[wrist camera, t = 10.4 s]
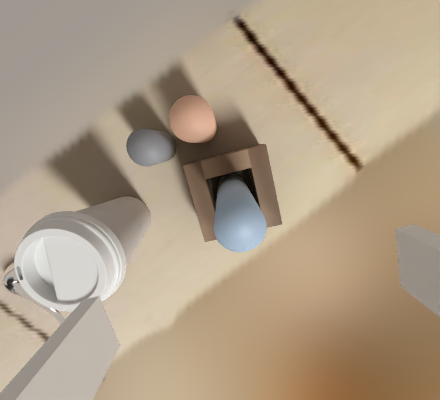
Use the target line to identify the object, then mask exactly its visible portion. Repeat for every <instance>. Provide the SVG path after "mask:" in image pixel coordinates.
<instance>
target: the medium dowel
mask: <svg viewBox="0 0 440 400" xmlns="http://www.w3.org/2000/svg"><path fill="white" fill-rule="evenodd" d="M169 124H170V127H171V129H172V131H173V133H174V134H175V135H176V136H177V137H178V138H179V139H181V140H183V141H186V142H192V143H206V142H209V141H211V140H212V139H213V138H214V136H215V134H216V132H217V124H216V121H215V117H214V114H213V111H212V108H211V107H210V105H209V104H208V102H207V101H205V100H204V99H203V98H201V97H199V96H196V95H186V96H183V97H181V98H179V99H178V100H176V101H175V102H174V104H173V105H172V107H171V109H170V112H169Z"/></svg>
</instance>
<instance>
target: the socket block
mask: <svg viewBox="0 0 440 400" xmlns="http://www.w3.org/2000/svg"><path fill="white" fill-rule="evenodd" d="M183 168H184V172H185V175H186V178H187V182H188V185H189V189H190V192H191V196H192V199H193V203H194V206H195V209H196V213H197V216H198V220H199V223H200V227H201V230H202V234H203V237H204V240H205V242H208V241H212V240H216V239H217V238H216V236H215V233H214V219H215V211H216V201H215V197H214V193H213V190H212V186H211V182H210V178H213V177H217V176H221V175H225V174H228V173H232V172H236V171H240V170H244V169H248V170H249V174H250V179H251V183H252V187H253V192H254V196H255V201H256V203H257V204H258V206H259V208H260V210H261V211H262V213H263V215H264V217H265V220H266V225H267V228H268V227H272V226H276V225H281V224H282V221H281V216H280V211H279V206H278V201H277V196H276V191H275V186H274V181H273V177H272V172H271V167H270V162H269V157H268V152H267V147H266V144H258V145H254V146H251V147H247V148H243V149H239V150H235V151H231V152H227V153H224V154H220V155H216V156H212V157H208V158H204V159H200V160H197V161H193V162H189V163H187V164H185V165H184V166H183Z"/></svg>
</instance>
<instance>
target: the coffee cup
mask: <svg viewBox="0 0 440 400" xmlns="http://www.w3.org/2000/svg"><path fill="white" fill-rule="evenodd" d="M150 224H151V214H150V211H149V209H148V207H147V206H146V205H145V204H144V203H143V202H142V201H141V200H139V199H137V198H135V197H130V196H124V197H120V198H117V199H113V200H110V201H107V202H104V203H101V204H98V205H95V206H92V207H89V208H85V209H82V210H79V211H76V212H72V211H63V212H56V213H52V214H50V215H47V216H45V217H43V218H42V219H40V220H39V221H38V222H36V223H35V224H34V225H33V226H32V227H31V228H30V229H29V230H28V232H27V233H26V235H25V236H24V238H23V240H22V242H21V243H20V245H19V246H18V248H17V250H16V253H15V258H14V268H15V273H16V276H17V279H18V281H19V283H20V284H21V286H22V287H23V289H24V290H25V291H26V292H27V294H28V295H29V296H31V297H32V298H33V299H34V300H36V301H37V302H39V303H40V304H42V305H44V306H46V307H48V308H51V309H55V310H59V311H74V310H75V308H76V307H77V306H78V305H79V304H80V303H81V302H82V301H83V300H84V299H88V298H93V297H97V296H99V297H100V299H101V301H103V300H105V299H107V298H108V297H109V296H111V295H112V294H113V293H114V292H115V291H116V290H117V289H118V288H119V287H120V285H121V283H122V281H123V279H124V276H125V272H126V266H127V264H128V262H129V260H130V259H131V257H132V255H133V254H134V252H135V250H136V249H137V247H138V245H139V244H140V242H141V240H142V239H143V237H144V235H145V234H146V232H147V230H148V229H149V227H150Z"/></svg>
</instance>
